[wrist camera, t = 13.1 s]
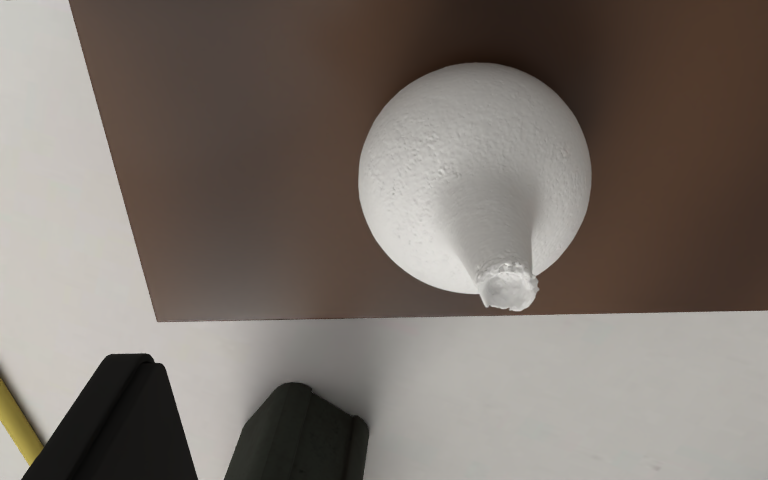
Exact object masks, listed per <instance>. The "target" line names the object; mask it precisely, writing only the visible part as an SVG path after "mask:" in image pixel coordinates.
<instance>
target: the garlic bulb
mask: <svg viewBox="0 0 768 480" xmlns="http://www.w3.org/2000/svg"><path fill="white" fill-rule="evenodd" d="M591 174H592V172H591V161H590V155H589V150H588V147H587V143H586V140H585V137H584V134H583V132H582V130H581V127H580V125H579V123H578V121H577V119H576V117H575V116H574V114H573V113H572V111H571V110H570V109H569V107H568V106H567V105H566V104H565V102H564V101H563V100H562V99H561V98H560V97H559V95H557V94H556V93H555V92H554V91H553V90H552V89H551V88H550V87H548V86H547V85H546V84H544V83H543V82H541V81H540V80H538V79H537V78H535V77H533V76H531V75H529V74H527V73H525V72H523V71H520V70H518V69H515V68H512V67H507V66H504V65H500V64H493V63H477V62H474V63H463V64H456V65H451V66H448V67H447V66H446V67H444V68H442V69H439V70H436V71H433V72H431V73H428V74H426V75H424V76H422V77H420V78H419V79H417V80H415V81H413V82H412V83H410V84H408V85H407V86H406V87H404V88H403V89H402V90H400V91H399V92H398V93H397V94H396V95H395V96H394V97H393V98H392V99H391V100H390V101H389V102H388V103H387V105H386V106H384V108H383V109H382V111H381V112H380V114H379V115H378V116H377V118H376V119H375V121H374V122H373V125H372V127H371V128H370V131H369V133H368V135H367V138H366V140H365V143H364V146H363V149H362V152H361V156H360V162H359V176H358V177H359V178H358V188H359V199H360V203H361V206H362V210H363V214H364V216H365V219H366V221H367V224H368V226H369V228H370V230H371V232H372V235H373V236H374V238H375V239H376V241H377V242H378V244H379V245H380V246H381V248H382V249H383V250H384V251H385V253H386V254H387V255H388V256H389V257H390V258H391V259H392V260H393V261H394V262H395V263H396V264H397V265H398V266H399V267H401V268H402V269H403V270H404V271H406V272H407V273H409V274H410V275H412V276H413V277H415V278H416V279H418V280H420V281H422V282H424V283H426V284H428V285H431V286H434V287H436V288H440V289H443V290H447V291H452V292H457V293H465V294H480V296H481V299H482V301H483V303H484V305H485V307H489V305H490V306H491V307H496V308H501V309H507V308H510V309H509V310H513V311H522V310H523V309H525V308H528V307H529V306H530V304H531V303H532V302H533V301H534V299H535V296H536V293H537V291H539V288H538V286H537V284H538V280H537V278H536V276H537V275H539V274H540V273H541V272H543V271H544V270H546V269H547V268H548V267H549V266H551V265H552V264H553V263H554V262H555V261H556V260H557V259H558V258H559V257H560V256H561V255H562V254H563V252H564V251H565V250H566V249H567V247H568V246H569V244H570V243H571V242H572V240H573V239H574V237H575V235H576V233H577V231H578V230H579V228H580V226H581V224H582V222H583V219H584V217H585V214H586V211H587V207H588V203H589V197H590V191H591V180H592V178H591Z"/></svg>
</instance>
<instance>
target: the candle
mask: <svg viewBox="0 0 768 480" xmlns="http://www.w3.org/2000/svg"><path fill="white" fill-rule="evenodd" d="M368 439H369V429H368V427H367V425H366V423H365V422H364V421H363V420H362V419H361V418H359V417H358V416H354V417H352V416H350V415H349V414H347V413H345V412H344V411H342V410H340V409H339V408H337V407H335V406H334V405H332V404H330V403H329V402H327V401H325V400H324V399H322V398H320V397H319V396H317V395H315V394H314V393H312V389H311V388H310V387H308V386H306V385H303V384H299V383H287V384H283V385H281V386H279V387H278V388H277V389H276V390H274V392H273V393H272V394H271V395H270V396H269V397H268V399H267V400H266V401H265V402H264V403H263V404H262V406H261V407H260V408H259V409H258V410H257V411H256V413H255V414H254V415H253V416H252V417H251V418H250V420H249V421H248V422H247V423H246V424H245V426H244V428H243V429H242V432H241V435H240V438H239V440H238V443H237V446H236V448H235V451H234V454H233V456H232V459H231V462H230V465H229V467H228V470H227V473H226V475H225V478H224V480H363V475H364V468H365V460H366V453H367V446H368Z"/></svg>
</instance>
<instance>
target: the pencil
mask: <svg viewBox="0 0 768 480" xmlns="http://www.w3.org/2000/svg"><path fill="white" fill-rule="evenodd" d="M0 421H1V422H2V424H3V425H4V427H5V428H6V430H7V432H8V433H9V435H10V436H11V438H12V439H13V441H14V442H15V444H16V446H17V447H18V449H19V450H20V452H21V453H22V455H23V456H24V458H25V460H26V461H27V463H28V464H29V466H31V464H32V463H33V461H34V460H35V459H36V457H37V456H38V455H39V454H40V452H41V451H42V449H43V448H44V447H43V445H42V444H41V442H40V440H39V439H38V437H37V436H36V434H35V432H34V431H33V429H32V428H31V426H30V424H29V423H28V421H27V419H26V418H25V416H24V415H23V413H22V411H21V410H20V408H19V407H18V405H17V403H16V402H15V400H14V398H13V397H12V395H11V394H10V392H9V390H8V389H7V387H6V386H5V384H4V382H3V381H2V379H1V377H0Z"/></svg>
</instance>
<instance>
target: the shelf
mask: <svg viewBox="0 0 768 480" xmlns="http://www.w3.org/2000/svg"><path fill="white" fill-rule="evenodd" d="M69 3H70V7H71V11H72V14H73V18H74V22H75V25H76V29H77V32H78V36H79V40H80V43H81V47H82V51H83V54H84V58H85V62H86V65H87V69H88V72H89V76H90V80H91V83H92V87H93V91H94V94H95V98H96V102H97V105H98V109H99V112H100V116H101V120H102V123H103V127H104V131H105V134H106V138H107V141H108V145H109V149H110V152H111V156H112V160H113V163H114V167H115V171H116V174H117V178H118V181H119V185H120V189H121V192H122V196H123V200H124V203H125V207H126V210H127V214H128V218H129V221H130V225H131V229H132V232H133V236H134V240H135V243H136V247H137V250H138V254H139V258H140V261H141V265H142V269H143V272H144V276H145V280H146V283H147V287H148V290H149V294H150V298H151V301H152V305H153V309H154V312H155V316H156V319H157V322H188V321H240V320H293V319H345V318H397V317H450V316H502V315H554V314H607V313H659V312H712V311H764V310H768V0H69ZM474 62H477V63H493V64H500V65H504V66H507V67H512V68H515V69H518V70H520V71H523V72H525V73H527V74H529V75H531V76H533V77H535V78H537V79H538V80H540V81H541V82H543V83H544V84H546V85H547V86H548V87H550V88H551V89H552V90H553V91H554V92H555V93H556V94H557V95H559V97H560V98H561V99H562V100H563V101H564V102H565V104H566V105H567V106H568V107H569V109H570V110H571V111H572V113H573V114H574V116H575V117H576V119H577V121H578V123H579V125H580V127H581V130H582V132H583V134H584V137H585V140H586V143H587V147H588V150H589V155H590V161H591V172H592V174H591V178H592V180H591V191H590V197H589V203H588V207H587V211H586V214H585V217H584V219H583V222H582V224H581V226H580V228H579V230H578V231H577V233H576V235H575V237H574V239H573V240H572V242H571V243H570V244H569V246H568V247H567V249H566V250H565V251H564V252H563V254H562V255H561V256H560V257H559V258H558V259H557V260H556V261H555V262H554V263H553V264H552V265H551V266H549V267H548V268H547V269H546V270H544V271H543V272H541V273H540V274H539V275H537V276H536V278H537V280H538V284H537V286H538V288H539V291H537V293H536V296H535V299H534V301H533V302H532V303H531V304H530V306H529V307H528V308H525V309H523V310H522V311H513V310H509V309H510V308H507V309H501V308H496V307H491V306H490V305H489V307H485V305H484V303H483V301H482V299H481V296H480V294H465V293H457V292H452V291H447V290H443V289H440V288H436V287H434V286H431V285H428V284H426V283H424V282H422V281H420V280H418V279H416V278H415V277H413V276H412V275H410V274H409V273H407V272H406V271H404V270H403V269H402V268H401V267H399V266H398V265H397V264H396V263H395V262H394V261H393V260H392V259H391V258H390V257H389V256H388V255H387V254H386V253H385V251H384V250H383V249H382V248H381V246H380V245H379V244H378V242H377V241H376V239H375V238H374V236H373V235H372V232H371V230H370V228H369V226H368V224H367V221H366V219H365V216H364V214H363V210H362V206H361V203H360V199H359V188H358V178H359V177H358V176H359V162H360V156H361V152H362V149H363V146H364V143H365V140H366V138H367V135H368V133H369V131H370V128H371V127H372V125H373V122H374V121H375V119H376V118H377V116H378V115H379V114H380V112H381V111H382V109H383V108H384V106H386V105H387V103H388V102H389V101H390V100H391V99H392V98H393V97H394V96H395V95H396V94H397V93H398V92H399V91H400V90H402V89H403V88H404V87H406V86H407V85H408V84H410V83H412V82H413V81H415V80H417V79H419V78H420V77H422V76H424V75H426V74H428V73H431V72H433V71H436V70H439V69H442V68H444V67H446V66H447V67H448V66H451V65H456V64H463V63H474Z"/></svg>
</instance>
